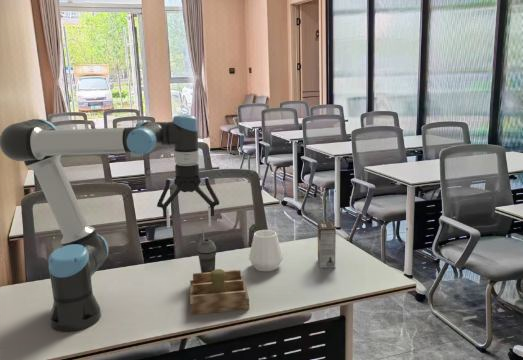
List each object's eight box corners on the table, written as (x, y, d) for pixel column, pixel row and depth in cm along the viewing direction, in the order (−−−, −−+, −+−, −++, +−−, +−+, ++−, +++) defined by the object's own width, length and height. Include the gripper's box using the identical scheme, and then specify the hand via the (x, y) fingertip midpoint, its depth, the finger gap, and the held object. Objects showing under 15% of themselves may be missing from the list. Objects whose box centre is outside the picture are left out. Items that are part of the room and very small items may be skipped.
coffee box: (317, 259, 199) (317, 221, 195) (333, 258, 199) (333, 221, 195) (319, 268, 190) (319, 229, 186) (336, 267, 190) (336, 228, 186)
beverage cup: (215, 283, 179) (211, 232, 175) (196, 282, 181) (192, 231, 176) (220, 275, 186) (217, 225, 182) (202, 274, 188) (199, 225, 183)
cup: (262, 257, 202) (261, 225, 199) (289, 264, 194) (288, 231, 191) (242, 268, 192) (240, 235, 188) (270, 276, 184) (269, 241, 181)
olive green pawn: (221, 307, 159) (219, 276, 156) (206, 303, 162) (204, 272, 160) (232, 299, 164) (230, 269, 161) (217, 295, 167) (216, 265, 165)
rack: (191, 314, 157) (189, 296, 156) (191, 290, 175) (189, 273, 173) (249, 308, 160) (248, 291, 158) (243, 285, 177) (243, 269, 176)
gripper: (146, 166, 153) (150, 231, 157) (226, 164, 155) (227, 228, 160) (148, 162, 160) (152, 224, 165) (225, 160, 163) (226, 221, 167)
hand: (189, 226), depth 162 cm, fingers open, 13 cm apart
